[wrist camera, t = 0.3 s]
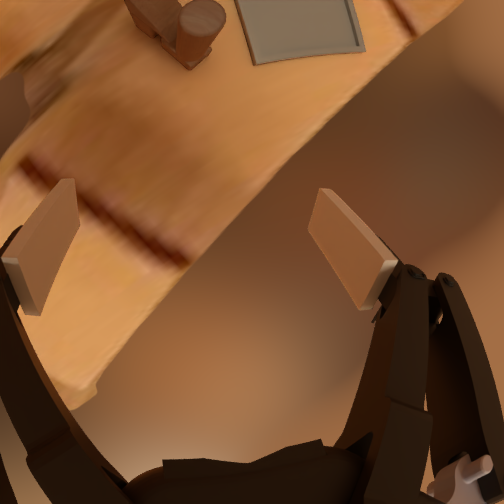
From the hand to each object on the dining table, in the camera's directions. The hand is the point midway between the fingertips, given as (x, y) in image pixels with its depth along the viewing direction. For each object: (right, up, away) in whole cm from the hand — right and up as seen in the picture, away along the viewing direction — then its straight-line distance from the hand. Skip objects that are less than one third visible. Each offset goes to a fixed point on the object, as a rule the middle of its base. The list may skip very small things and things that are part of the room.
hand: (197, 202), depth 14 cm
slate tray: (+9, +35, +13) cm, 38 cm away
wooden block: (-8, +25, +14) cm, 30 cm away
